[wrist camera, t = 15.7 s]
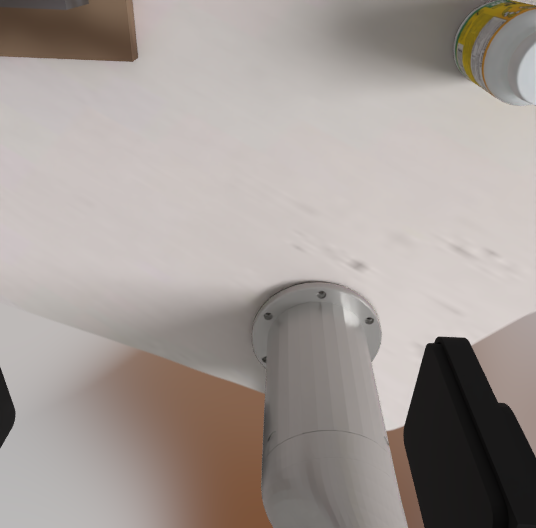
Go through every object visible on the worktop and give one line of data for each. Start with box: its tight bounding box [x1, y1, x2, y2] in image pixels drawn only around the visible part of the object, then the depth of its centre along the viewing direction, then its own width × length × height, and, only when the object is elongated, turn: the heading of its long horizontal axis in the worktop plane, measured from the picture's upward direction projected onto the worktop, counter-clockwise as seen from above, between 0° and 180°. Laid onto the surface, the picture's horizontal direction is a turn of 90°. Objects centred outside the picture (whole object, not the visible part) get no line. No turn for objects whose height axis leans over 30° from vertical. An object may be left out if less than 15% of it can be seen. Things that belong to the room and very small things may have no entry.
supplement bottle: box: [453, 0, 536, 106], centre depth 31 cm, size 5×5×10 cm
